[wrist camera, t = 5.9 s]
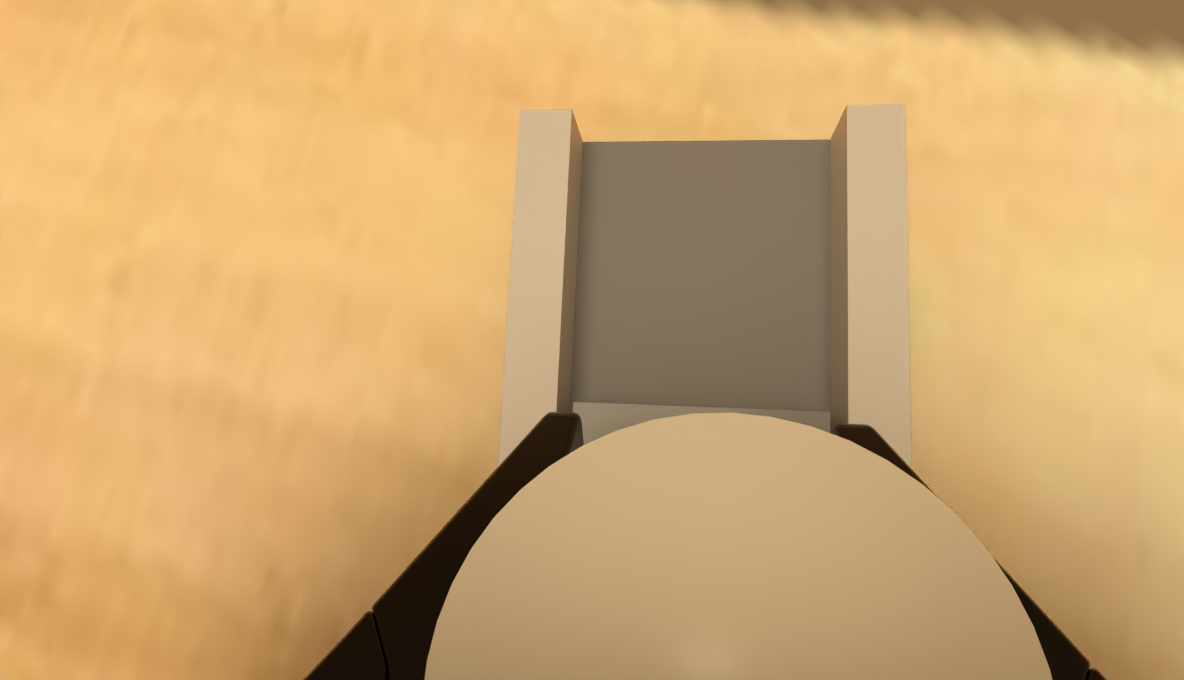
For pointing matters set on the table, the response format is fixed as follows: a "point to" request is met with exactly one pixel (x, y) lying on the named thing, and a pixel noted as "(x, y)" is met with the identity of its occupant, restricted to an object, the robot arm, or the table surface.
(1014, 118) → the table surface
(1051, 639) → the robot arm
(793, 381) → the fader console
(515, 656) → the fader slider
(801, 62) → the table surface
